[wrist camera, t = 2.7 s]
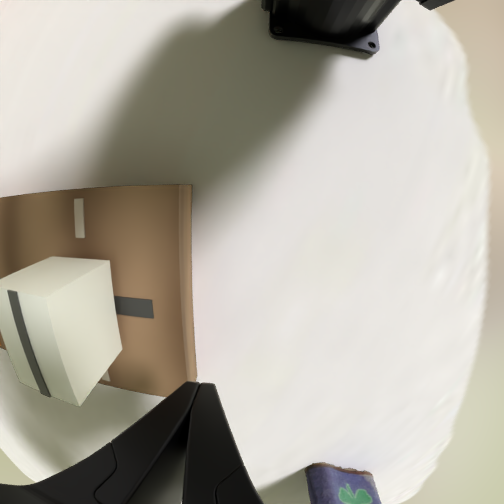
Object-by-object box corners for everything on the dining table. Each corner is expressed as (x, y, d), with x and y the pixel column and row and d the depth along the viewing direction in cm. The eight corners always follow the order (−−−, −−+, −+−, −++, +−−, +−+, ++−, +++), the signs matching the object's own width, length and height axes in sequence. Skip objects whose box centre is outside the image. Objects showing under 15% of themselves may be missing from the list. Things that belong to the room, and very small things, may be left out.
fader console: (191, 185, 14) (178, 184, 12) (197, 376, 17) (189, 401, 14) (-32, 203, 14) (-51, 207, 12) (-13, 323, 17) (-28, 333, 14)
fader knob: (109, 260, 12) (43, 298, 7) (122, 349, 13) (78, 408, 8) (52, 256, 12) (-14, 285, 7) (67, 337, 13) (19, 383, 8)
